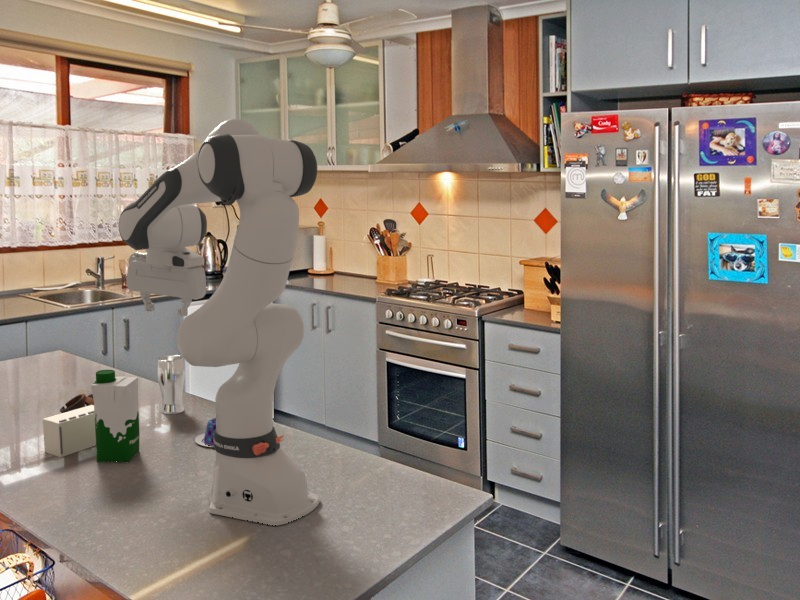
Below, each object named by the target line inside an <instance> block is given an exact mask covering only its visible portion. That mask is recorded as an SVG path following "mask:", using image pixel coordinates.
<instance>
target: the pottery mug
mask: <svg viewBox="0 0 800 600" xmlns="http://www.w3.org/2000/svg"><path fill="white" fill-rule="evenodd" d="M64 405H65V406H64ZM64 405H63V406H62V407H61V408H60V409H59V412H60V414H61V413H65V412H68V411H72V410H75V409H79V408H82V407H86V406H90V405H94V399H93V394H92V393H90V394H88V395H87V396H86V394H85V393H80V394H77V395H75V396H73V398H71V399H70V400H68V401H67V402H66V403H64Z"/></svg>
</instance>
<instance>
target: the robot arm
mask: <svg viewBox="0 0 800 600" xmlns="http://www.w3.org/2000/svg"><path fill="white" fill-rule="evenodd" d="M317 177H318V161H317V157H316V155H315V153H314V151H313V150H312V148H311V147H310V146H309V145H307V143H303V142H300V141H297V140H295V139H294V140H293V139H282V138H277V137H269V136H263V135H261V134H260V132H259V130H258V129H257V128H256V127H255V126H254V125H253V124H251V123H250V122H248V121H246V120H243V119H240V118H230V119H227V120H224V121H223V122H221V123H220V124H218V126H216V127H215V128H214V129H213V130H212V131H211V132H210V133H209V134H208V135H207V136H206V138H205V139H204V140H203V141H202V143H200V145H199V147H198V149H197V150H196V151H195V152H194V153H193V154H191V155H190V156H189V157H188V158H186V159H185V160H184V161H182V162H181V163H179V164H177V165H176V166H174V167H172V168H170V169H168V170H166V171H165V172H164V173H162V174H161V175H160V176H159V177H158V178H156V179H155V181H154V182H153V183H152V184H151V185H150V186H149V187H148V188H147V189H146V191H144V193H143V194H142V195H141V196H139V198H138V199H136V201H133V202H130V203H129V204H128V205H126V207H125V208H124V209H123V210H122V211H121V213H120V216H119V219H118V232H119V236H120V238H121V239H122V241H123V242H124V243H125V244H126V245H128V246H129V247H130V248H131V249H133V250H135V251H137V252H133V253H132V254H131V255H130V256H128V268H127V275H126V287H127V289H128V290H129V291H131V292H138V293H140V294H139V296H140V299H141V300H142V302H143V304H144V311H145V312H154V311H155V303H154V302H152V300H151V298H150V296H151V295H152V294H153V295H159V296H166V297H174V298H180V299H181V303H182V306H181V307H178V308H177V315H178V317H185V318H184V319H183V320H182V321H181V322H180V325H179V328H178V330H177V333H176V334H177V335H176V342H177V348H178V351H179V352H180V356H183V360H185V362H187V363H188V364H189V365H190V366H194V367H203V368H204V367H208V368H209V367H210V368H218V367H219V368H220V367H225V366H230V365H237V364H238V365H237V368H236V370H235V371H234V373H233V375H231V377H229V379H227V380H226V381H225V382H224V383H222V385H221V386H220V387H219V388H218V389H217V392H216V395H215V403H214V404H215V418H216V429H215V431H214V447H213V448H214V450H215V462H214V470H213V479H212V485H211V490H210V494H209V498H208V500H209V503H210V504H209V511H208V512H209V513H210V514H213V515H216V516H217V515H218V516H222V517H228V518H232V517H233V518H232V519H236V520H237V519H238V520H242V521H247V520H248V521H247V522H252V521H253V523H257V522H259V523H258V524H262V523H263V525H267V524H268V526H272V525H273V526H275V525H276V526H282V525H286V524H289V523H292V522H294V521H293V520H295V521H297V520H299V519H301V518H302V516H303V517H304V516H307V515H308V514H310V513H312V511H315V509H316V508H317V507H318V506H319V504H320V500H321V499H320V496H319V495H318V494H316V493H314V492H311V491H309V490H308V482H307V481H308V480H307V477H306V474H305V472H304V471H303V470H302V469H301V468H300V467H299V465H298V464H297V463H295V462H294V461H293V460H292V459H291V458H290V457H289V456H288V455H287V453H286V452H285V451H284V450H283V449H281V444H280V442H283V441H285V439H283V438H284V436H285V435H279V436H278V434H277V431H276V429H275V427H274V426H273V423H274V422H273V421H274V417H273V416H274V412H273V410H274V396H275V395H274V393H275V388H276V385H277V381H278V378H279V375H280V373H281V371H282V369H283V367H284V365H285V364H286V362H288V361H287V360H288V359H289V358H291V357H290V356H292V354H293V353H294V352H296V351H297V349H298V348H299V347H300V346H301V344H302V342H303V339H304V336H305V335H304V333H305V324H304V321H303V317H302V316H301V315H300V313H299V311H298V310H297V309H296V308H295V307H294V306H292V305H289V304H283V303H282V304H281V303H273V302H275V301H276V300H277V299H279V298H280V296H281V295H282V294H283V292H284V291H285V289H286V286H287V282H288V278H289V274H290V270H291V266H292V263H293V260H294V254H295V252H296V247H297V242H298V237H299V228H300V208H299V206H298V204H297V202H296V200H294V197H295V198H296V197H300V196H303V195H306V194H308V193H309V192H310V191H311V190H312V189H313V187H314V185H315V182H316V180H317ZM217 202H221V203H222V204H223V205H225V206H231V205H234V203H235V202H236V203H237V205H238V208H239V221H238V225H237V228H236V232H235V236H234V240H233V244H232V249H231V252H230V257H229V261H228V264H227V267H226V271H225V274H224V276H223V278H222V280H221V282H220V284H219V286H218V287H217V289H216V290H215V291H214V292H213V294H211V296H210V297H209V298H208V300H207V301H206V302H205V303H204V304H203V305H201V306H200V307H199V308H198V309H196V310H195V311H193V312H192V313H191V314H188V309H189V307H190V305H191V303H192V301H193V300H195V301H196V300H200V299H203V298H204V297H205V296H206V293H207V278H206V277H207V276H206V272H205V269H204V268H203V267H202V266H203V265H204V264H205V258H204V257H203V256H202V255H201V254H199V253H196V252H194V251H192V250H191V249H189V248H187V247H194V246H198V245H199V244H201V243H202V242H203V240H204V238H205V237H206V236H207V231H208V230H207V229H208V222H207V216H206V214H205V213H204V211H203V210H202V209H201V208H200V207H199V206H197V205H196V204H206V203H207V204H208V203H217ZM194 204H195V205H194ZM143 250H145V252H138V251H143ZM298 518H299V519H298ZM296 519H297V520H296ZM291 521H292V522H291ZM288 522H289V523H288ZM276 526H275V527H276Z"/></svg>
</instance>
